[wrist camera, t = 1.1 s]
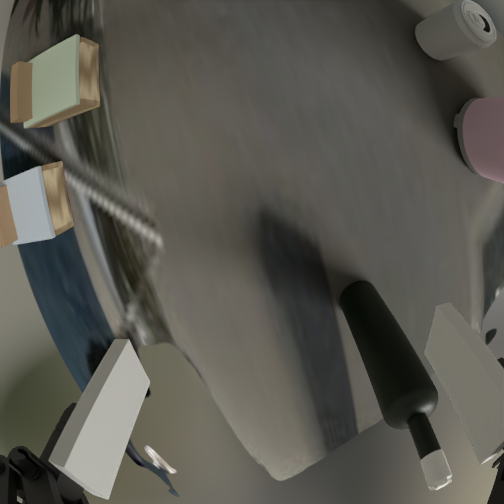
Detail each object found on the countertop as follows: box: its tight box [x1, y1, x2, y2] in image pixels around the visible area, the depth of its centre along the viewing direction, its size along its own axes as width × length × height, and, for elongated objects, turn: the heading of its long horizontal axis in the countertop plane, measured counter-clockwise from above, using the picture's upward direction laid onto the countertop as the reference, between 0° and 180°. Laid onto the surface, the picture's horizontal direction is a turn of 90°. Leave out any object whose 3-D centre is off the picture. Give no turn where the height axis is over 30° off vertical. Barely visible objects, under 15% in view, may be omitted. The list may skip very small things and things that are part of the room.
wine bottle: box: [340, 281, 452, 491], centre depth 25 cm, size 6×6×30 cm
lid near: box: [10, 34, 80, 128], centre depth 22 cm, size 10×10×4 cm
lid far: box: [0, 166, 56, 247], centre depth 28 cm, size 10×10×4 cm
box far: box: [41, 161, 74, 236], centre depth 33 cm, size 10×10×4 cm
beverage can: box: [415, 0, 496, 60], centre depth 19 cm, size 6×6×12 cm
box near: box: [30, 37, 100, 128], centre depth 26 cm, size 10×10×4 cm
